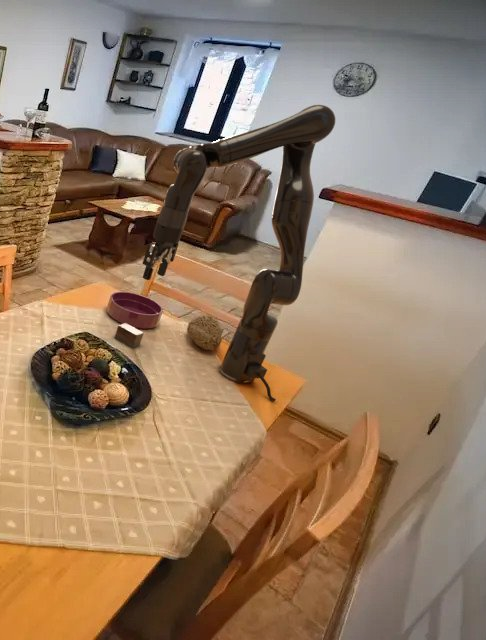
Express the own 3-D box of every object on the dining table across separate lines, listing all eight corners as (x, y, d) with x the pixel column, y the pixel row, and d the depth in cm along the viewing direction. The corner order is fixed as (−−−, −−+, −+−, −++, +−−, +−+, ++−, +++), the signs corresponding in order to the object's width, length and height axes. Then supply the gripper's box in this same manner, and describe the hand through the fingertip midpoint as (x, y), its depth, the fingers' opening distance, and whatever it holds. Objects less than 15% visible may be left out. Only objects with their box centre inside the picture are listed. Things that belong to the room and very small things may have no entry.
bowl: (168, 329, 170) (173, 315, 168) (122, 329, 163) (127, 314, 161) (139, 305, 185) (144, 292, 182) (97, 305, 178) (101, 291, 176)
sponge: (191, 328, 178) (173, 332, 162) (204, 310, 175) (187, 312, 159) (223, 350, 173) (208, 356, 156) (237, 331, 170) (223, 336, 153)
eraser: (139, 345, 156) (143, 332, 154) (132, 348, 153) (136, 335, 151) (121, 335, 160) (125, 322, 158) (114, 337, 157) (118, 325, 155)
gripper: (170, 218, 148) (154, 269, 155) (146, 220, 138) (130, 275, 145) (193, 226, 143) (175, 278, 151) (170, 229, 133) (152, 285, 141)
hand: (153, 277), depth 148 cm, fingers open, 8 cm apart
